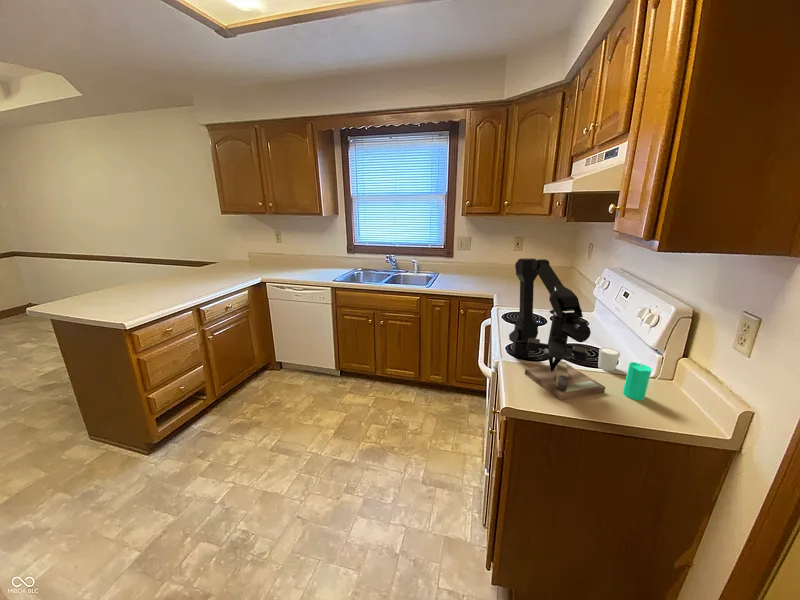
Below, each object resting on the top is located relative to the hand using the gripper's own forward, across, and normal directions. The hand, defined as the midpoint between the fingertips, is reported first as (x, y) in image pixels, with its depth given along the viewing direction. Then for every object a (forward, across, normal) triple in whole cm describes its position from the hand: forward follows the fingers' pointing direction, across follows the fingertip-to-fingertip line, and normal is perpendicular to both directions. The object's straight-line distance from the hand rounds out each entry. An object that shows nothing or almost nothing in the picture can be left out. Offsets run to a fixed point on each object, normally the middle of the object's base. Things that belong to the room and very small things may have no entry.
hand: (551, 371), depth 122 cm
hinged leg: (+1, +3, -3) cm, 4 cm away
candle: (+3, +25, +2) cm, 26 cm away
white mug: (+4, +20, +20) cm, 29 cm away
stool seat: (+3, +4, 0) cm, 5 cm away
